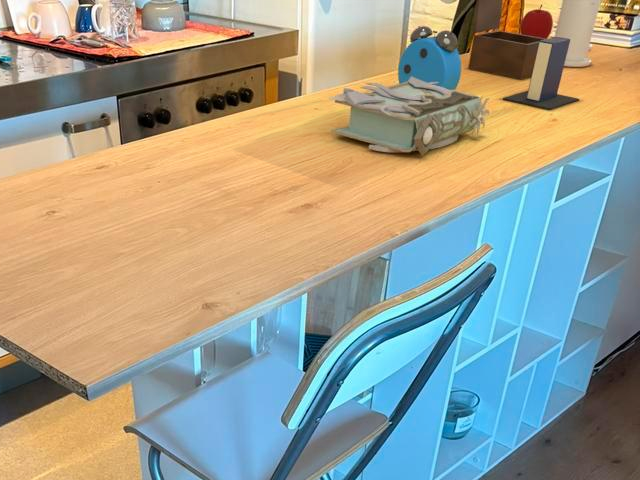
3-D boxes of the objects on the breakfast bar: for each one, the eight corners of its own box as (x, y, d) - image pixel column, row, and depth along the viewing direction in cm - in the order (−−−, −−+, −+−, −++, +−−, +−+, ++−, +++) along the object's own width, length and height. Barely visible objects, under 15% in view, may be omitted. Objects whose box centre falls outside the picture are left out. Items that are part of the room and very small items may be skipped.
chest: (542, 73, 212) (550, 39, 207) (520, 79, 206) (527, 44, 201) (491, 63, 220) (497, 30, 215) (467, 68, 214) (473, 35, 209)
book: (543, 94, 193) (556, 36, 185) (556, 97, 191) (570, 38, 183) (525, 99, 188) (538, 40, 180) (539, 102, 186) (553, 43, 179)
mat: (533, 90, 197) (533, 88, 197) (578, 100, 191) (579, 98, 190) (502, 99, 189) (503, 97, 189) (549, 110, 183) (549, 108, 182)
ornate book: (413, 170, 149) (496, 133, 166) (420, 113, 143) (506, 81, 159) (317, 143, 160) (404, 111, 177) (320, 90, 154) (410, 62, 171)
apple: (553, 43, 246) (562, 4, 240) (540, 46, 241) (548, 7, 234) (526, 38, 251) (534, 0, 244) (512, 42, 245) (519, 3, 239)
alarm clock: (455, 108, 181) (469, 31, 171) (438, 113, 178) (451, 34, 168) (409, 96, 188) (420, 22, 178) (392, 100, 185) (402, 24, 175)
